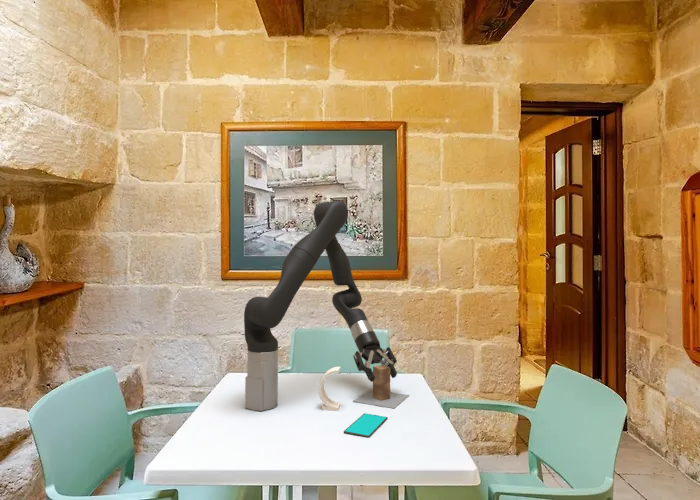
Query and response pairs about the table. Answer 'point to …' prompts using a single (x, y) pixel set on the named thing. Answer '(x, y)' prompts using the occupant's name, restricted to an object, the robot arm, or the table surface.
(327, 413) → the table surface
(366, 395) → the mat
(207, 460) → the table surface
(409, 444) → the table surface
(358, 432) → the smartphone
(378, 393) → the walnut block
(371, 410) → the table surface
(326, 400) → the headphone stand
